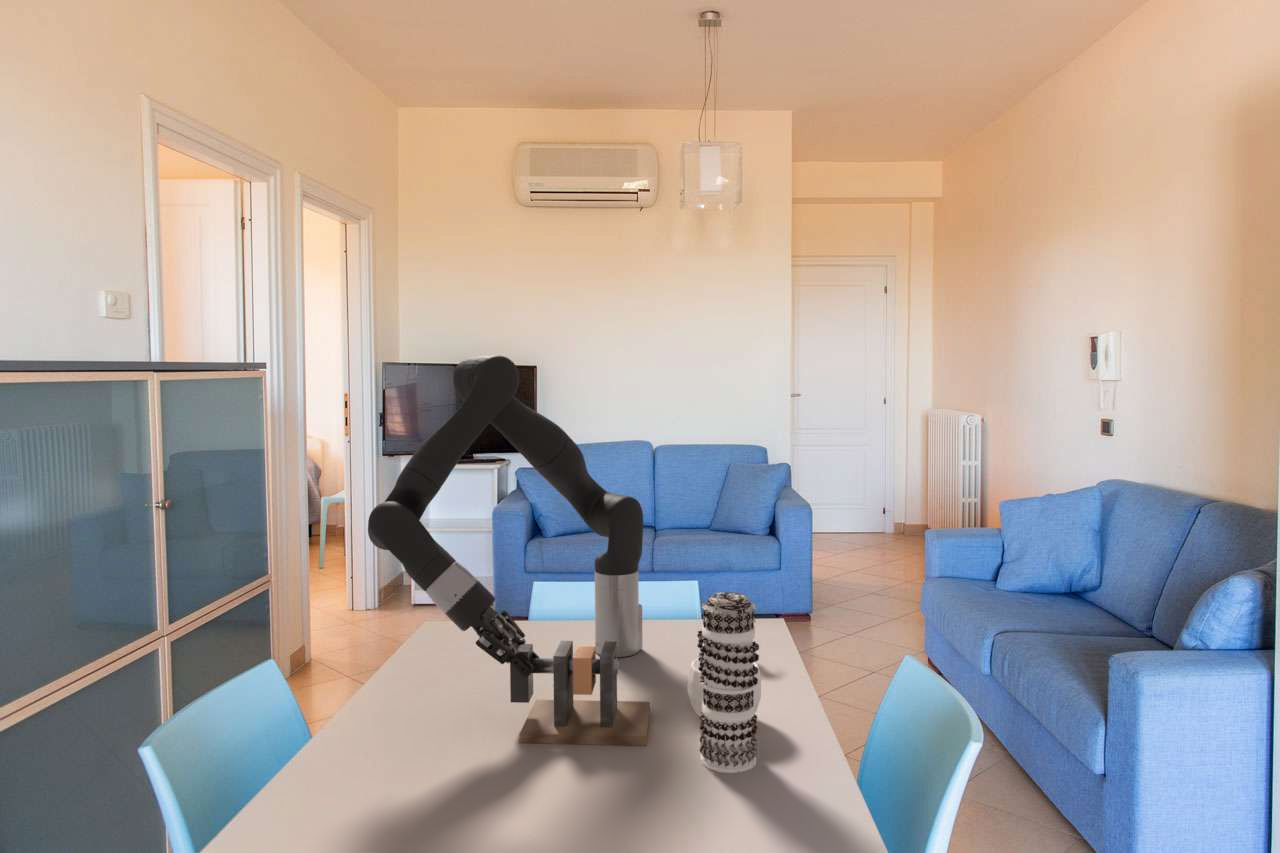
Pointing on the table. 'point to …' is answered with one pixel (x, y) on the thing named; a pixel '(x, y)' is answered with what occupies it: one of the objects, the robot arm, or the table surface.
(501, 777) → the table surface
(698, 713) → the cup
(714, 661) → the decorative candle
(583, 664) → the spacer
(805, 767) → the table surface
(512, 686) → the shaft
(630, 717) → the rig
